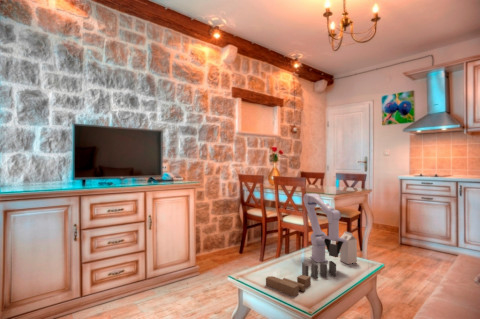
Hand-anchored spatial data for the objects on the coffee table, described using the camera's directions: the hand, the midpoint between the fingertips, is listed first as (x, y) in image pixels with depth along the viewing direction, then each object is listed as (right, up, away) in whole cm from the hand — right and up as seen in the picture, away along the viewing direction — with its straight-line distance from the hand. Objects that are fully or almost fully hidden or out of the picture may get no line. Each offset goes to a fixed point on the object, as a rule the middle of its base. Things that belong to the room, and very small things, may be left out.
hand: (333, 252), depth 161 cm
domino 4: (0, -2, 0) cm, 2 cm away
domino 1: (-20, -9, -12) cm, 25 cm away
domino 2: (-15, -9, -11) cm, 21 cm away
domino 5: (-4, -9, -10) cm, 14 cm away
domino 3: (-9, -9, -10) cm, 17 cm away
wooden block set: (-31, -10, -23) cm, 40 cm away
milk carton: (+13, -10, +11) cm, 20 cm away
